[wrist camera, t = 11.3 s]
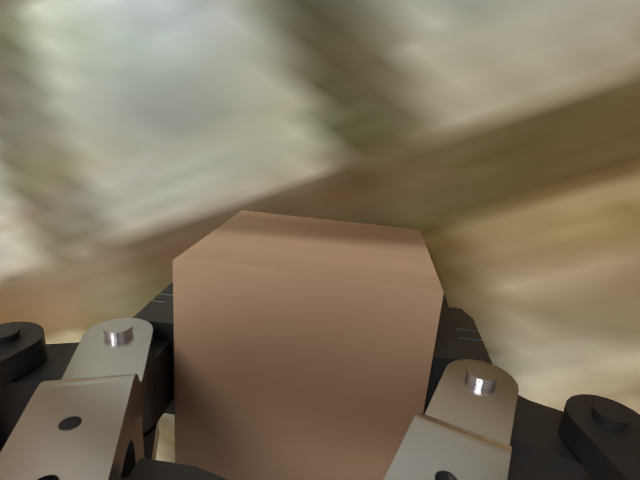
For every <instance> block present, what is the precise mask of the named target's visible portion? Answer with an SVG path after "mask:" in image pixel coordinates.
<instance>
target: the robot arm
mask: <svg viewBox="0 0 640 480" xmlns="http://www.w3.org/2000/svg"><path fill="white" fill-rule="evenodd" d="M163 413H168V414H175V390H174V315H173V283H172V284H170V285H169V286H168V287H167V288H165V289H164V290H163V291H162V292H161V294H159V295H158V296H156V297H155V298H154V299H153V301H151V302H150V303H149V304H148V305H146V306H145V307H144V308H143V309H142V310H141V311H140V312H139V313H138V314H136V315H135V316H134V317H133V318H117V319H111V320H107V321H104V322H101V323H99V324H96V325H94V326H92V327H91V328H90V329H88V330H87V331H86V332H85V333H84V335H83V337H82V339H81V341H80V342H79V343H63V344H46V343H45V336H44V330H43V328H42V327H41V326H40V325H38V324H35V323H30V322H11V323H5V324H0V480H228V479H225V478H223V477H220V476H218V475H216V474H213V473H211V472H208V471H206V470H204V469H201V468H199V467H197V466H190V465H184V464H177V463H171V462H164V461H158V460H155V459H156V452H157V445H158V438H159V422H158V420H159V419H160V417H161V416H162V415H163ZM384 480H640V415H639V414H638V413H636V412H635V411H633V410H632V409H630V408H628V407H626V406H624V405H622V404H620V403H618V402H616V401H613V400H610V399H607V398H604V397H600V396H595V395H585V394H582V395H575V396H572V397H570V398H569V399H568V400H567V402H566V405H565V408H564V412H562V411H559V410H556V409H553V408H550V407H547V406H544V405H541V404H538V403H535V402H532V401H530V400H527V399H525V398H523V397H521V396H519V395H518V385H517V383H516V381H515V380H514V379H513V378H512V376H510V375H509V374H508V373H507V372H505V371H504V370H502V369H501V368H499V367H497V366H494V365H493V364H492V362H491V360H490V357H489V355H488V353H487V350H486V348H485V346H484V343H483V341H481V336H480V334H479V332H478V329H477V327H476V325H475V322H474V320H473V318H471V317H470V316H469V315H468V314H467V313H465V312H464V311H463V310H462V309H458V308H449V307H448V304H447V301H446V298H445V295H443V300H442V306H441V312H440V318H439V324H438V330H437V335H436V341H435V347H434V353H433V359H432V365H431V370H430V376H429V382H428V388H427V394H426V400H425V405H424V411H423V413H420V412H417V413H416V415H415V417H414V418H413V420H412V423H411V425H410V427H409V429H408V431H407V433H406V435H405V437H404V439H403V441H402V443H401V445H400V447H399V449H398V451H397V453H396V455H395V457H394V460H393V462H392V464H391V466H390V468H389V470H388V472H387V474H386V476H385V478H384Z"/></svg>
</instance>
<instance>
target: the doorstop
mask: <svg viewBox="0 0 640 480" xmlns="http://www.w3.org/2000/svg"><path fill="white" fill-rule="evenodd" d="M443 295H444V292H443V289H442V286H441V284H440V281H439V278H438V276H437V273H436V271H435V268H434V265H433V263H432V260H431V257H430V255H429V252H428V249H427V247H426V244H425V241H424V239H423V236H422V234H421V231H420V229H411V228H401V227H392V226H383V225H373V224H364V223H355V222H345V221H336V220H327V219H317V218H308V217H299V216H289V215H280V214H271V213H261V212H252V211H243V210H242V211H240V212H239V213H238V214H236V215H235V216H233V217H232V218H231V219H229V220H228V221H227V222H225V223H224V224H222V225H221V226H220V227H218V228H217V229H215V230H214V231H213V232H211V233H210V234H208V235H207V236H206V237H204V238H203V239H202V240H200V241H199V242H197V243H196V244H195V245H193V246H192V247H190V248H189V249H188V250H186V251H185V252H183V253H182V254H181V255H179V256H178V257H177V258H175V259H174V260H173V315H174V390H175V463H177V464H184V465H190V466H197V467H199V468H201V469H204V470H206V471H208V472H211V473H213V474H216V475H218V476H220V477H223V478H225V479H228V480H384V478H385V476H386V474H387V472H388V470H389V468H390V466H391V464H392V462H393V460H394V457H395V455H396V453H397V451H398V449H399V447H400V445H401V443H402V441H403V439H404V437H405V435H406V433H407V431H408V429H409V427H410V425H411V423H412V420H413V418H414V417H415V415H416V413H417V412H420V413H423V411H424V405H425V400H426V394H427V388H428V382H429V376H430V370H431V365H432V359H433V353H434V347H435V341H436V335H437V330H438V324H439V318H440V312H441V306H442V300H443Z"/></svg>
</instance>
